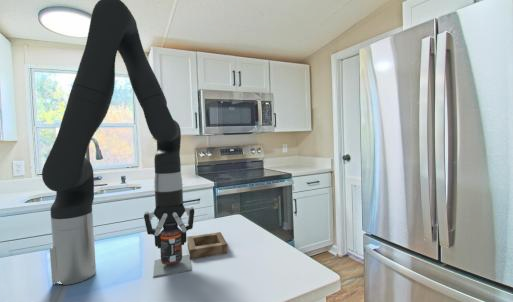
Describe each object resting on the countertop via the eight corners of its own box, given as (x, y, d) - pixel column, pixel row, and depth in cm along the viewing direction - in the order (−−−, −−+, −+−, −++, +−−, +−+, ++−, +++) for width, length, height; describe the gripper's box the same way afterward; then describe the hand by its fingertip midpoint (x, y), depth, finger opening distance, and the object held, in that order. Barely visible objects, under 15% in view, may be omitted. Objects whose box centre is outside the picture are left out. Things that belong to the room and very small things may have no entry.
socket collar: (190, 259, 82) (189, 249, 82) (187, 245, 93) (187, 236, 93) (227, 253, 85) (227, 244, 85) (220, 240, 96) (220, 232, 96)
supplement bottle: (178, 266, 75) (177, 225, 74) (157, 266, 75) (155, 226, 74) (185, 256, 81) (183, 219, 80) (165, 256, 81) (163, 219, 80)
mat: (153, 277, 72) (153, 276, 72) (154, 261, 81) (154, 260, 81) (191, 270, 75) (191, 269, 75) (188, 255, 84) (188, 254, 84)
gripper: (140, 192, 71) (143, 255, 72) (195, 188, 76) (198, 246, 76) (142, 187, 78) (145, 244, 79) (193, 183, 83) (195, 237, 84)
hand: (171, 245), depth 78 cm, fingers closed on supplement bottle, 6 cm apart
